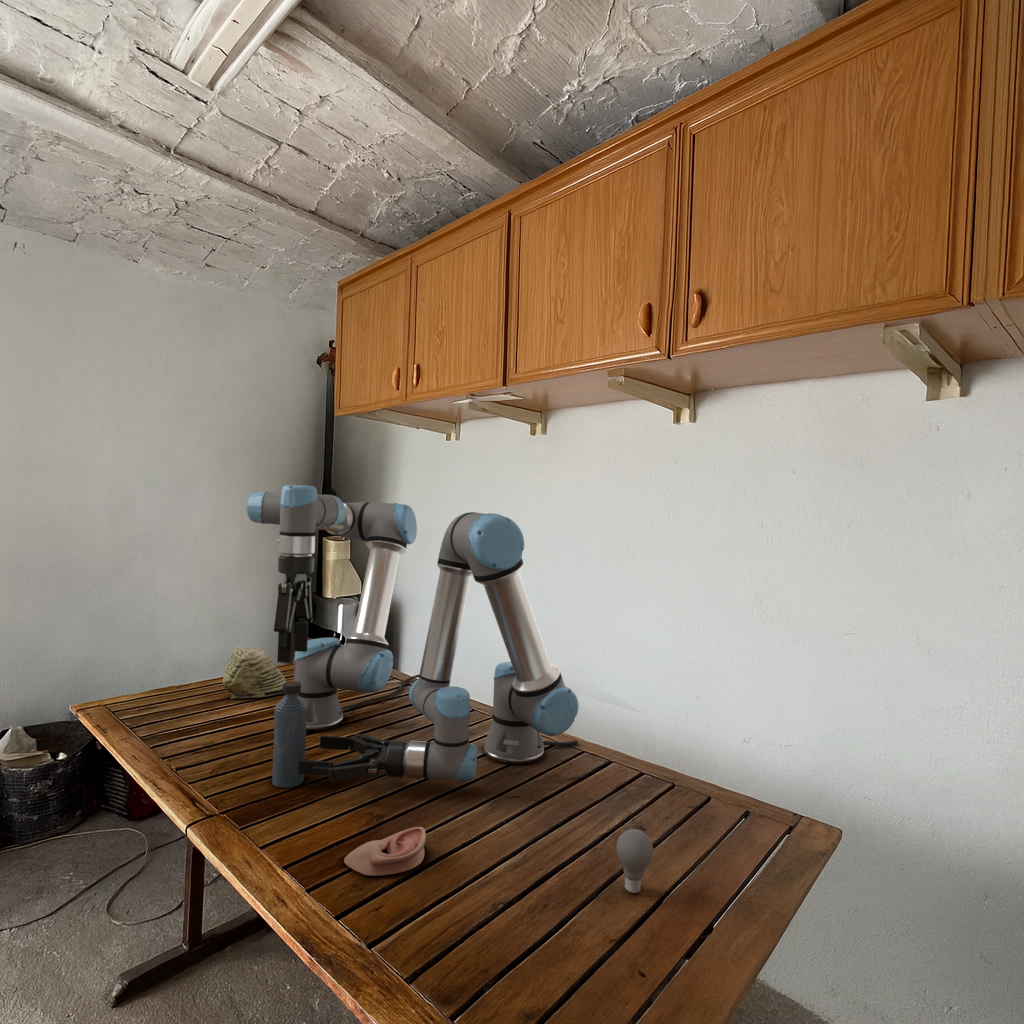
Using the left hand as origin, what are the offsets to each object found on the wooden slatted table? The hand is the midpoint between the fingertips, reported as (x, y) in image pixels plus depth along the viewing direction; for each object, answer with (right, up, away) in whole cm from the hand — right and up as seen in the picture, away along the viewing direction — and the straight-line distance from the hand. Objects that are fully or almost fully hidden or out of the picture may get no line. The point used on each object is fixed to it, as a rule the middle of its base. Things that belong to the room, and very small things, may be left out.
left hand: (292, 656), depth 140 cm
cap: (0, -6, 0) cm, 6 cm away
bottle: (-1, -28, +1) cm, 28 cm away
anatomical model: (+26, -29, -28) cm, 48 cm away
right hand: (+4, -21, -1) cm, 22 cm away
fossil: (-32, -25, +58) cm, 71 cm away
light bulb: (+69, -31, -34) cm, 83 cm away
